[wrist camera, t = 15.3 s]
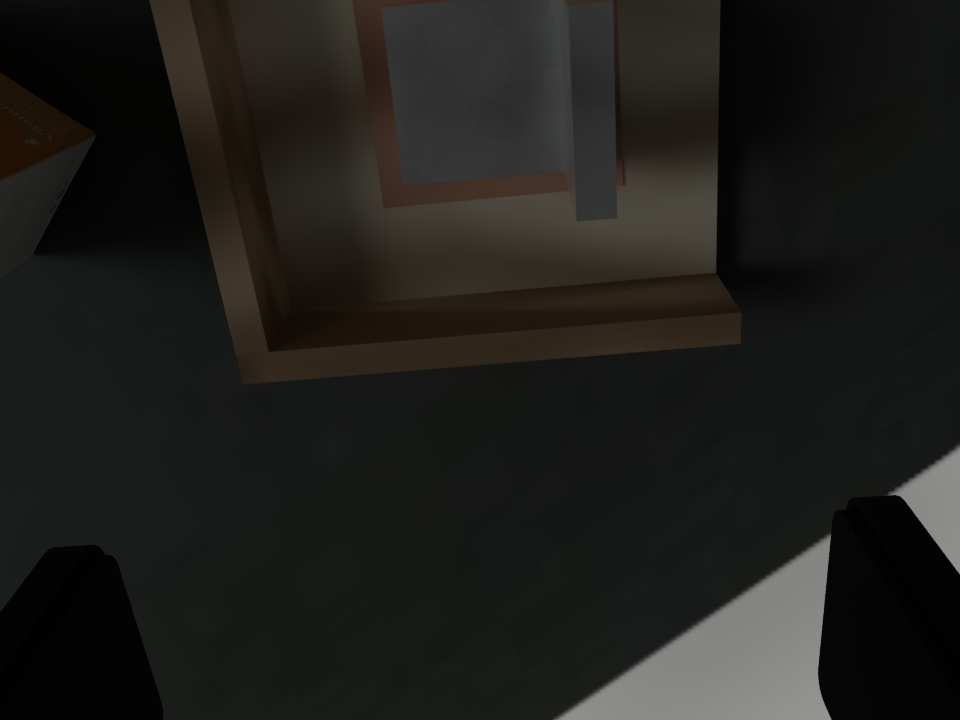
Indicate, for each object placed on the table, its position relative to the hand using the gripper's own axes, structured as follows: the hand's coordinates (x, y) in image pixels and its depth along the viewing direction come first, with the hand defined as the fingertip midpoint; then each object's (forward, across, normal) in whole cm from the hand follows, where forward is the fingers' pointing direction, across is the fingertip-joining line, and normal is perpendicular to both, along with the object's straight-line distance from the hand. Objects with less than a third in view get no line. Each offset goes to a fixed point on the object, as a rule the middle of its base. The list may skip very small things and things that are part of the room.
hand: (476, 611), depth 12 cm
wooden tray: (+25, +1, -2) cm, 25 cm away
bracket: (+24, 0, -4) cm, 24 cm away
